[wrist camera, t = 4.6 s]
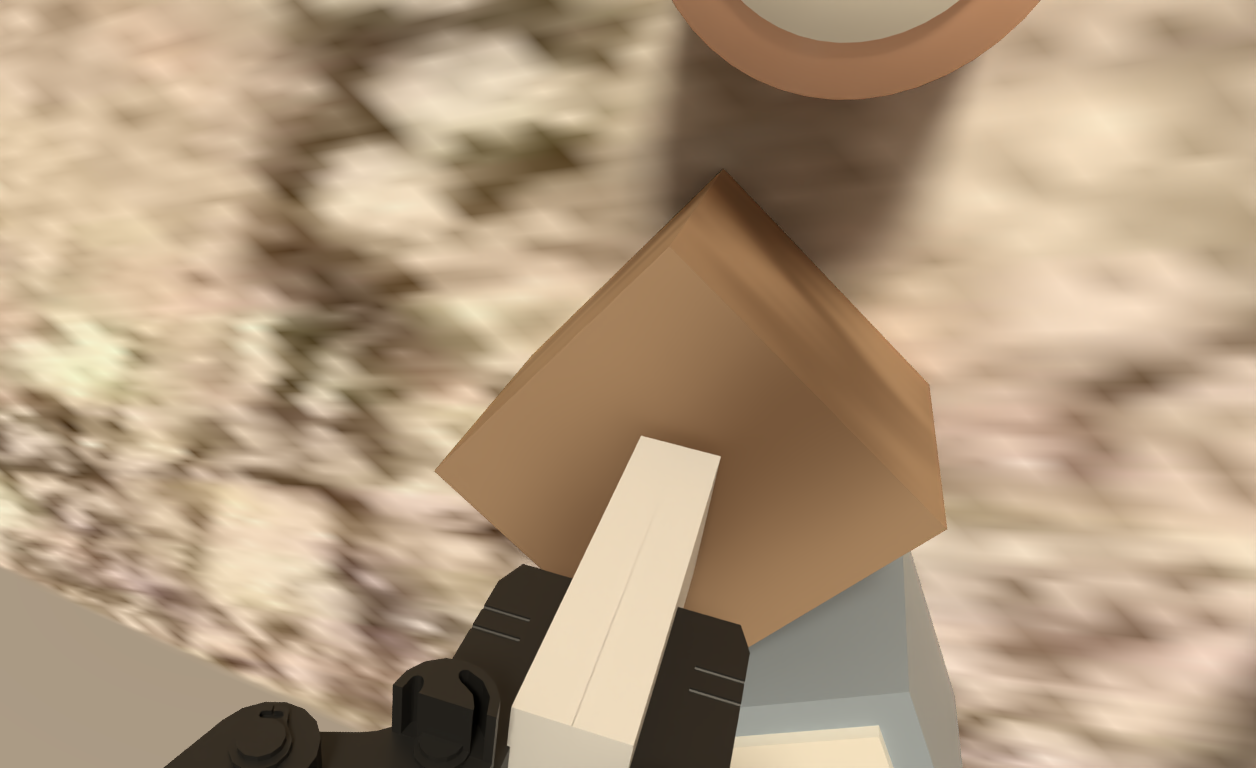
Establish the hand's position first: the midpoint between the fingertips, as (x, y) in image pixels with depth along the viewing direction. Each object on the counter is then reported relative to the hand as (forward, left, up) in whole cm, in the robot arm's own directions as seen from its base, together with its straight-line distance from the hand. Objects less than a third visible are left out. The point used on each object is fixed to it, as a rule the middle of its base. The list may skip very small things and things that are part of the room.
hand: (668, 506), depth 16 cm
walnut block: (0, 0, -6) cm, 6 cm away
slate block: (+8, -2, -6) cm, 10 cm away
